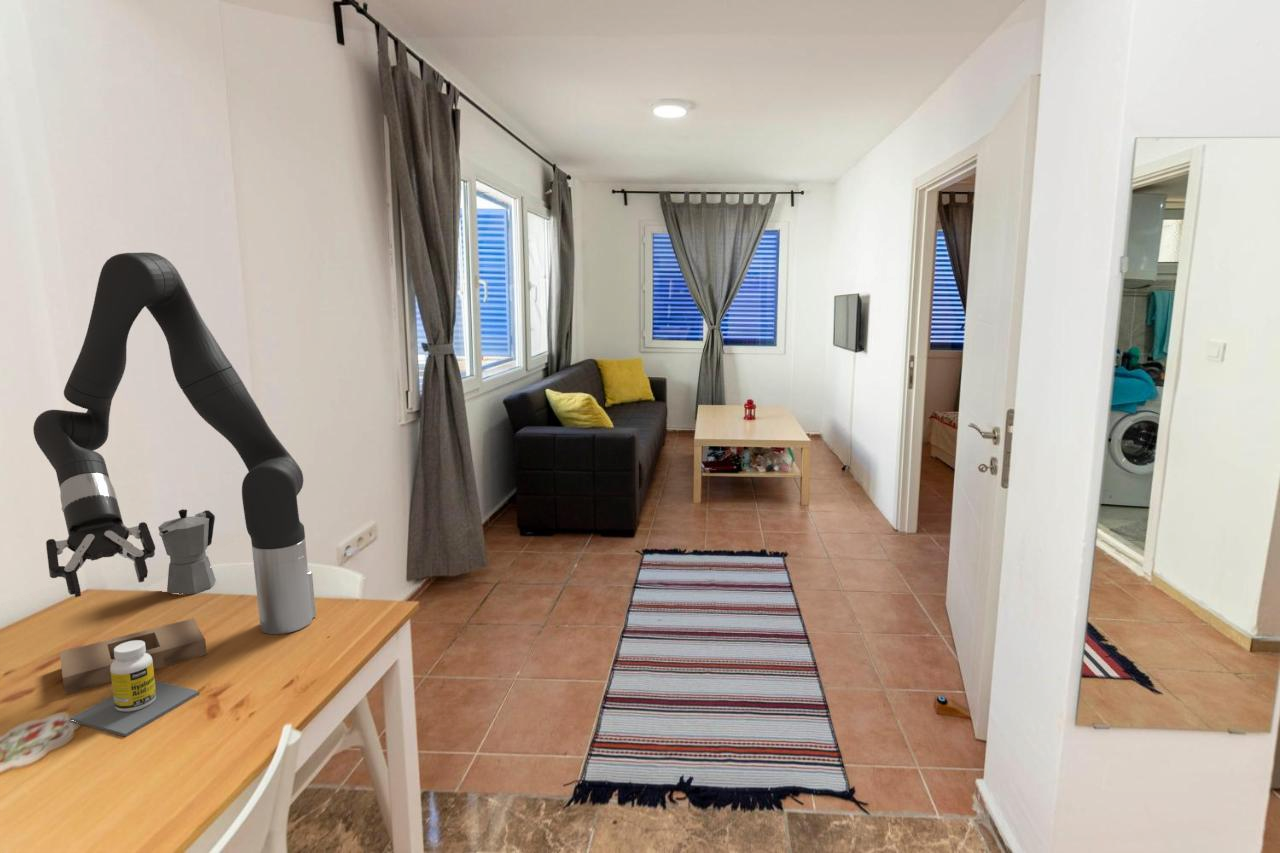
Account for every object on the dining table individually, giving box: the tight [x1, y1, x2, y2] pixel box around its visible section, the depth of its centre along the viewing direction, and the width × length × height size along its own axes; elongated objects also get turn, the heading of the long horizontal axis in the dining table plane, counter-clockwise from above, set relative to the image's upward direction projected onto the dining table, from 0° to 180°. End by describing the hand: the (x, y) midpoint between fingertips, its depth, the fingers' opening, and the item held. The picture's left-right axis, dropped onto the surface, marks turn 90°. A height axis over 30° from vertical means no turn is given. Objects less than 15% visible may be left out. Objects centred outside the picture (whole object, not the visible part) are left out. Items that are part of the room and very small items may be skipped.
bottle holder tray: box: [59, 617, 208, 696], centre depth 124 cm, size 20×11×3 cm, turn 131°
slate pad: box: [69, 679, 201, 737], centre depth 111 cm, size 12×12×1 cm
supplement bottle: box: [110, 640, 156, 712], centre depth 110 cm, size 5×5×10 cm
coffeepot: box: [157, 508, 217, 595], centre depth 155 cm, size 15×9×18 cm, turn 174°
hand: (110, 587), depth 116 cm, fingers open, 8 cm apart
